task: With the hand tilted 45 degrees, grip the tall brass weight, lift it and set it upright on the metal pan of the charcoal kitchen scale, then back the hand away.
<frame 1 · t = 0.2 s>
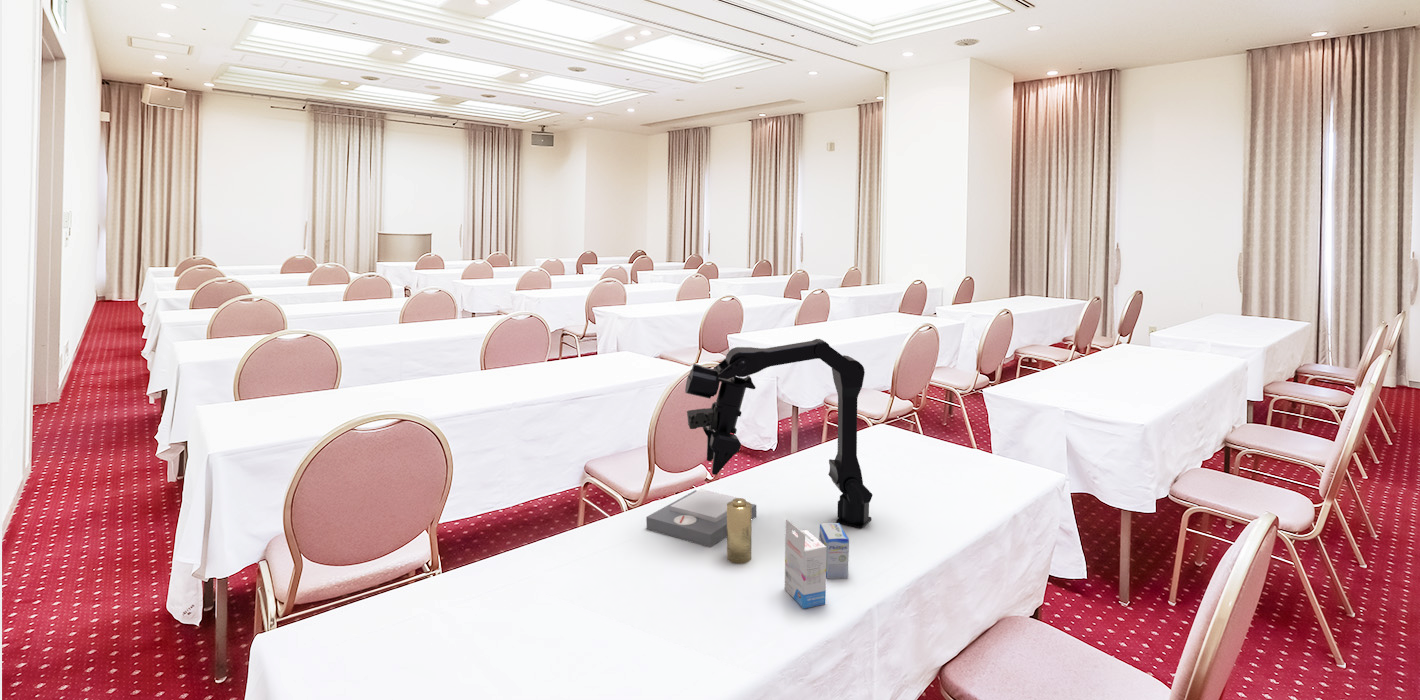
hand: (711, 467, 171), 15 cm above the table, tool tilted 15°, fingers open, 9 cm apart
brass weight: (739, 558, 160), on the table
scale: (702, 522, 178), on the table
ink box: (804, 597, 143), on the table
medicine box: (832, 570, 154), on the table
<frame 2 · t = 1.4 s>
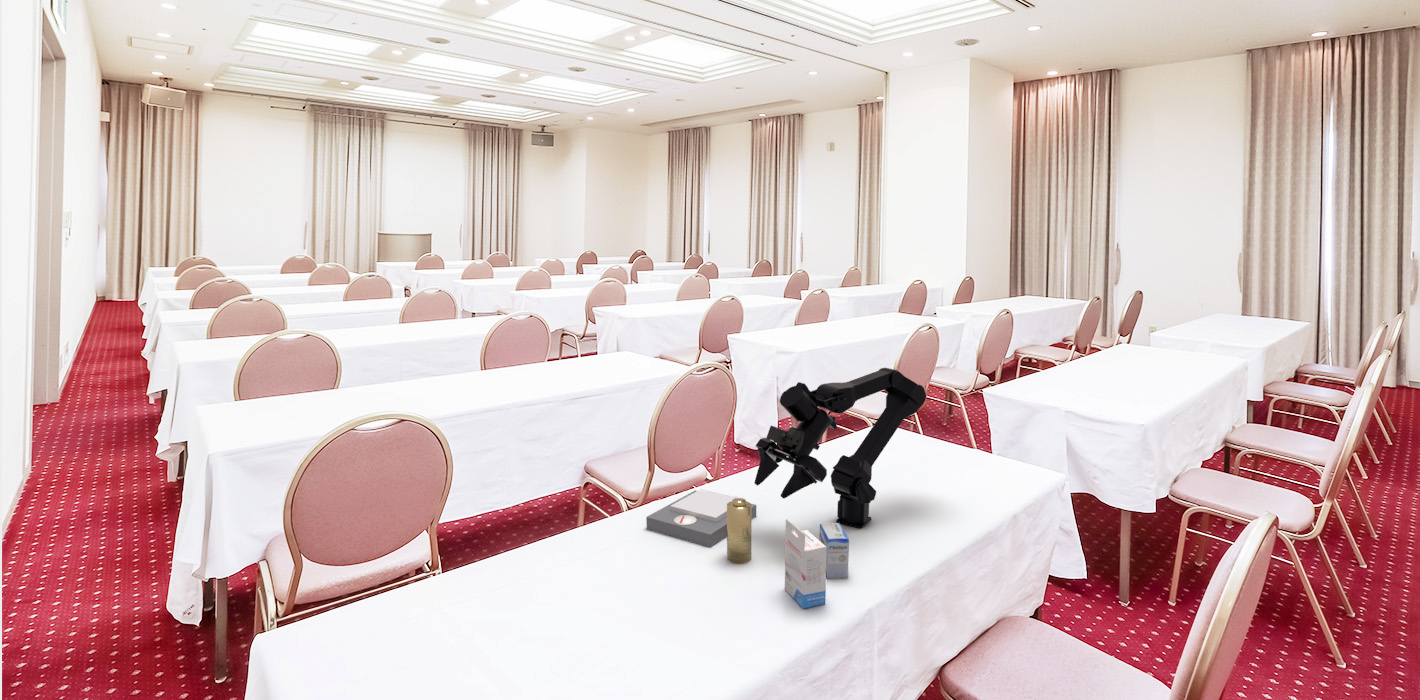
hand: (768, 490, 161), 13 cm above the table, tool tilted 45°, fingers open, 9 cm apart
nothing on the table moved.
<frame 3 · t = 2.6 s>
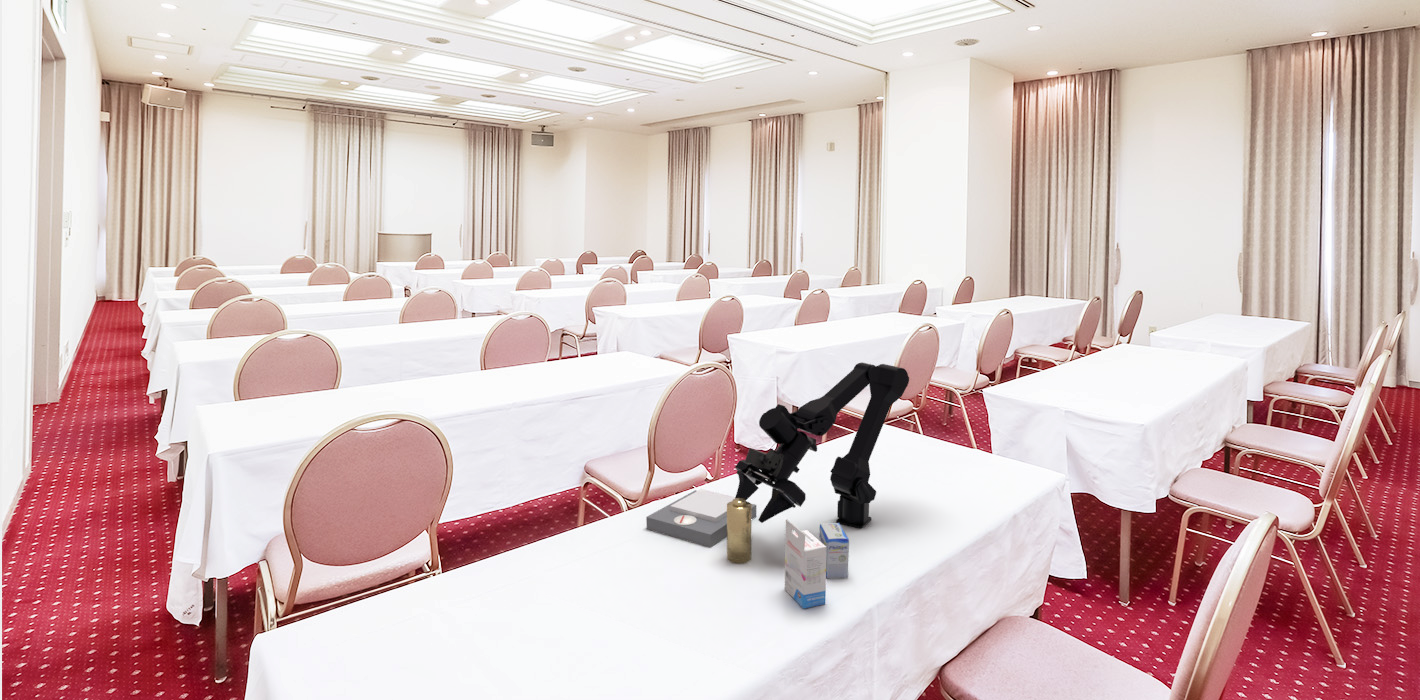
hand: (746, 514, 159), 9 cm above the table, tool tilted 45°, fingers open, 9 cm apart
nothing on the table moved.
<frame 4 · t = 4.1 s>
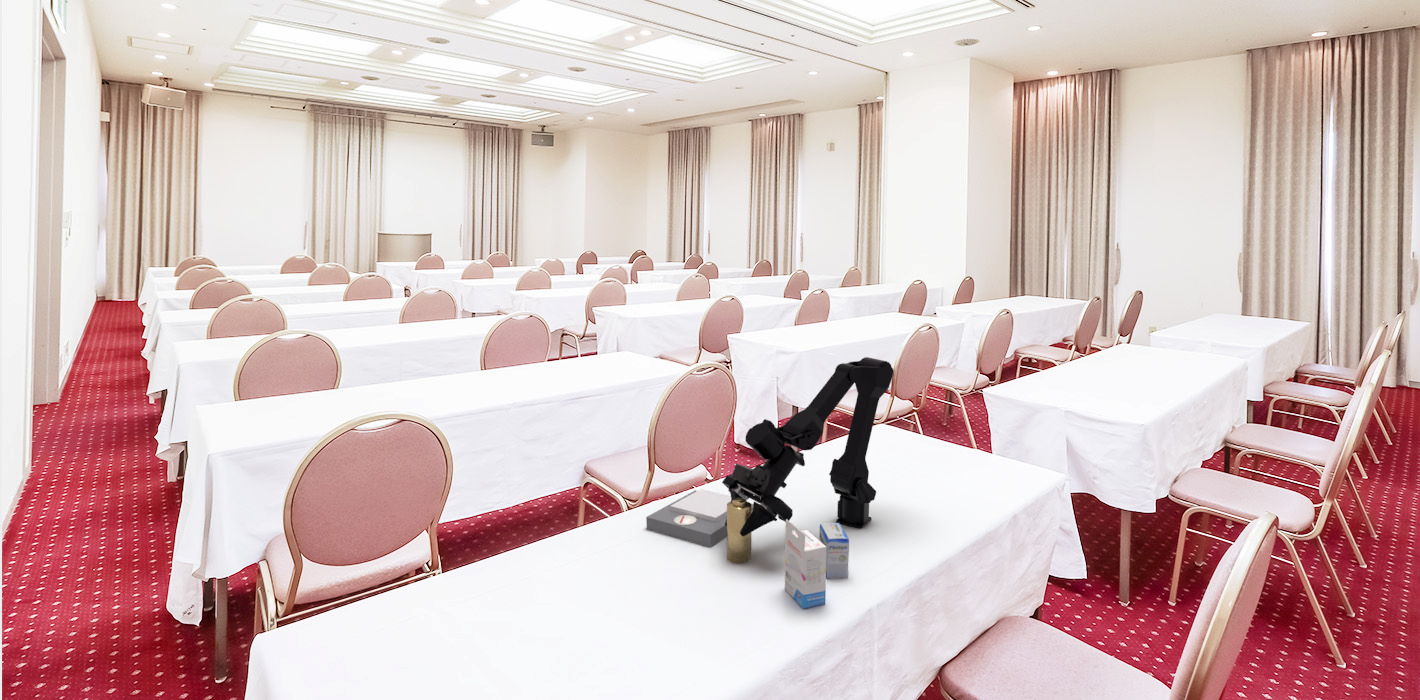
hand: (733, 530, 158), 7 cm above the table, tool tilted 45°, fingers closed on brass weight, 5 cm apart
brass weight: (739, 558, 160), on the table, touching gripper
everything else where it was.
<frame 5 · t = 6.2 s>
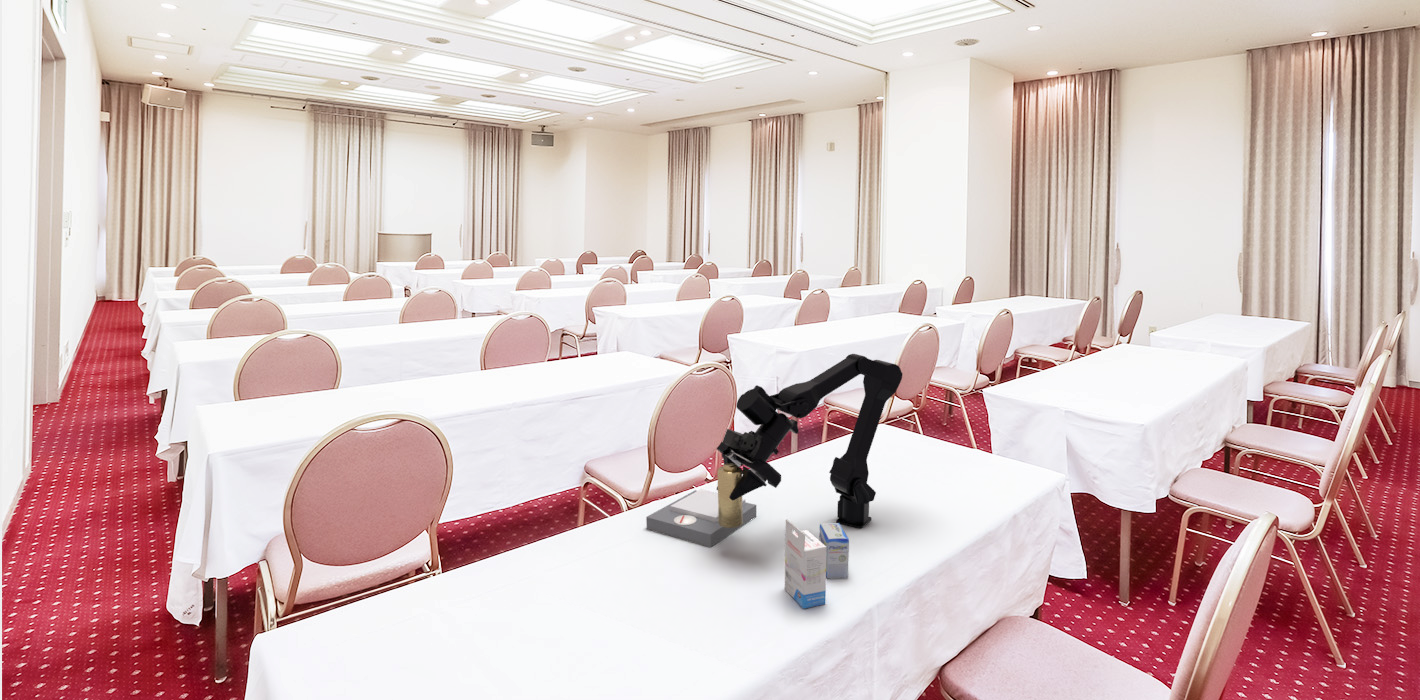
hand: (724, 495, 159), 13 cm above the table, tool tilted 45°, fingers closed on brass weight, 5 cm apart
brass weight: (730, 522, 161), point 7 cm above the table, touching gripper
everything else where it was.
when the fingers open (12 cm above the table, at t = 8.4 s): brass weight stays where it is, resting on scale.
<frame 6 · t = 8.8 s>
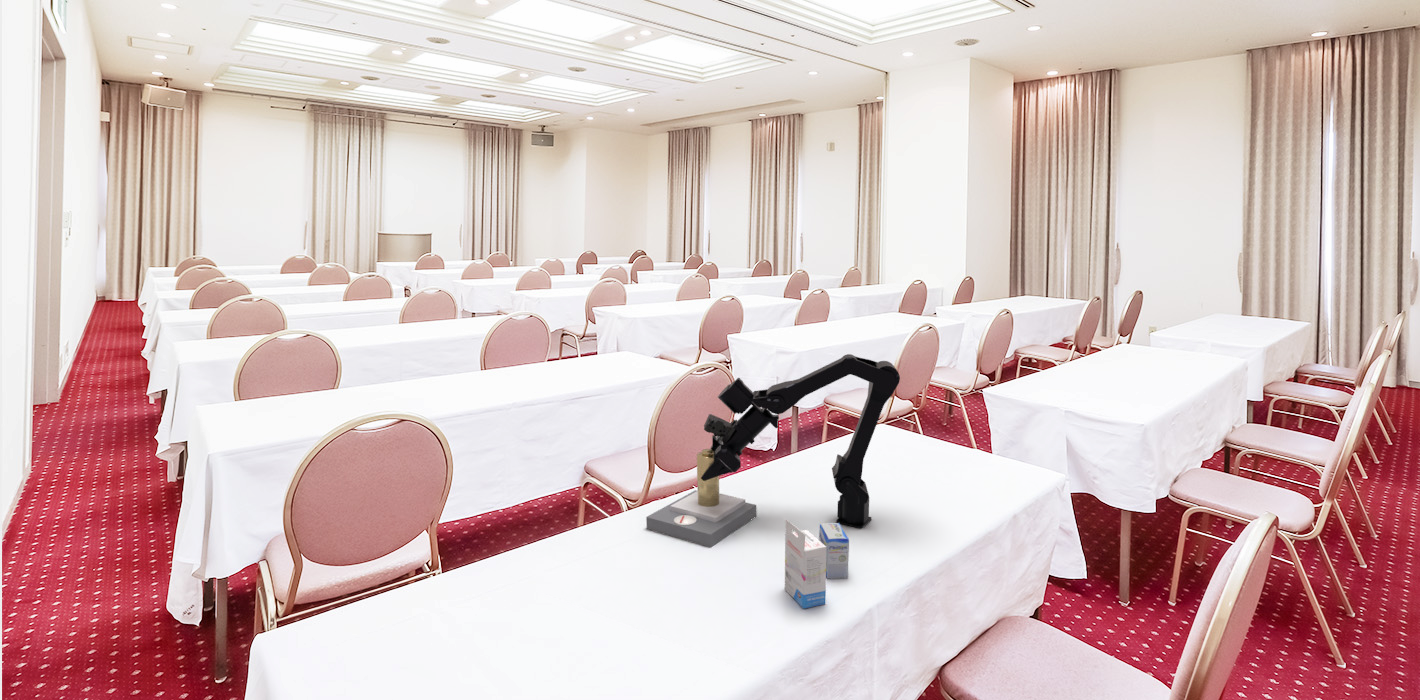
hand: (702, 472, 178), 12 cm above the table, tool tilted 45°, fingers open, 9 cm apart
brass weight: (708, 502, 179), point 4 cm above the table, touching scale
everything else where it was.
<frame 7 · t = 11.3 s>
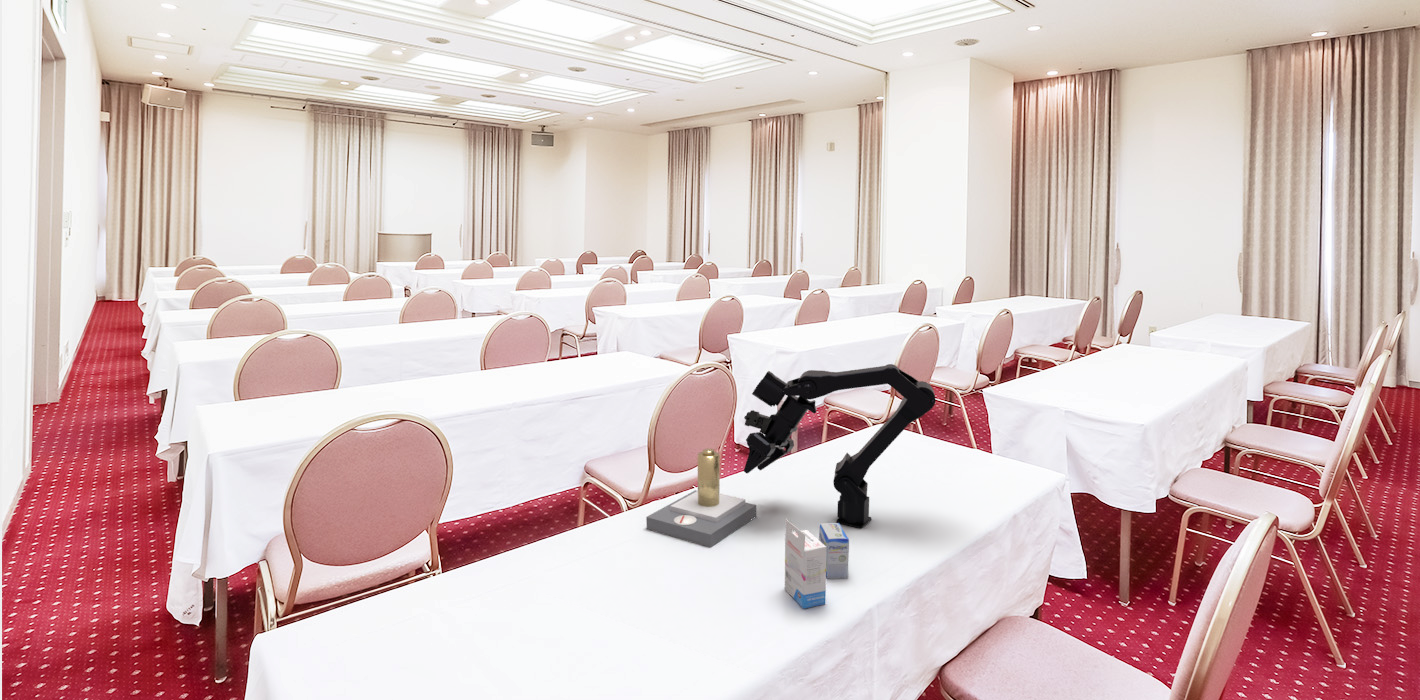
hand: (752, 470, 179), 12 cm above the table, tool tilted 30°, fingers open, 9 cm apart
nothing on the table moved.
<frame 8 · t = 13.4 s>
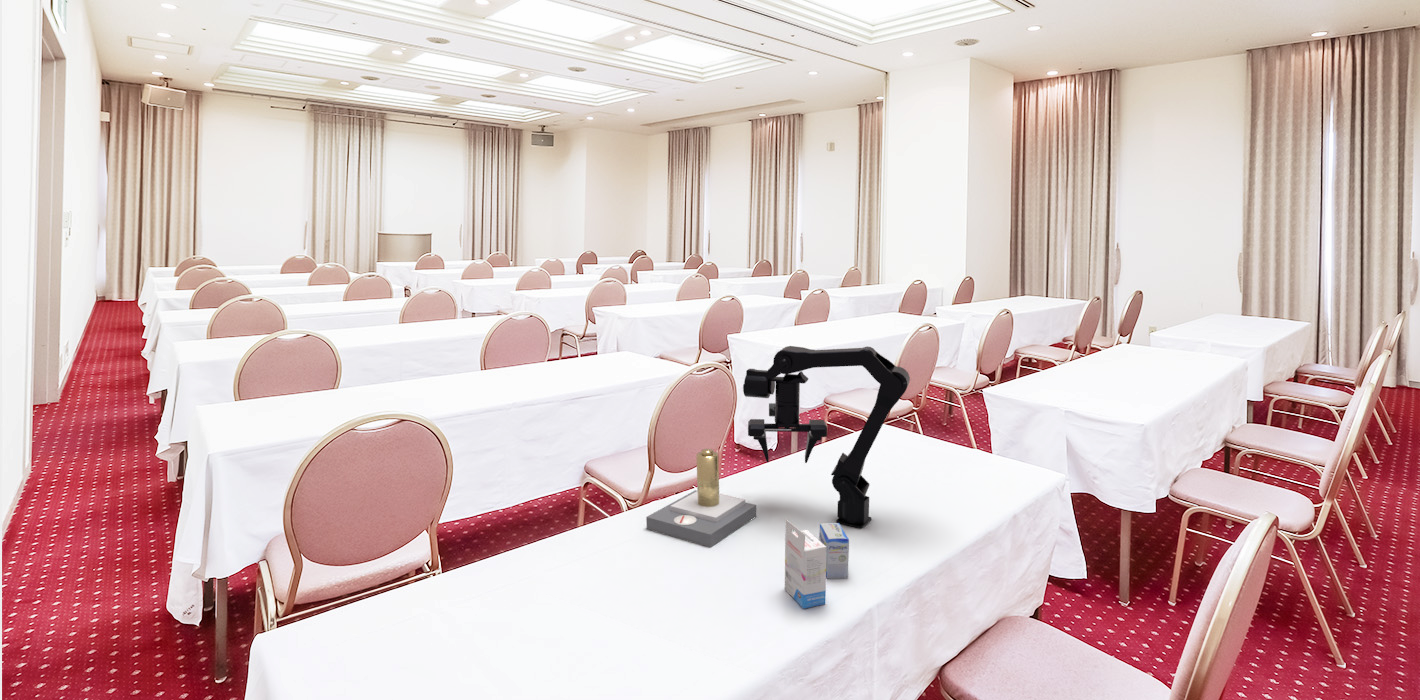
hand: (786, 462, 181), 13 cm above the table, tool pointing down, fingers open, 9 cm apart
nothing on the table moved.
at the end: brass weight inside the target area on the scale (0.1 cm from its centre), point 4.2 cm above the scale's base; brass weight tilted 1°; the gripper is holding nothing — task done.
